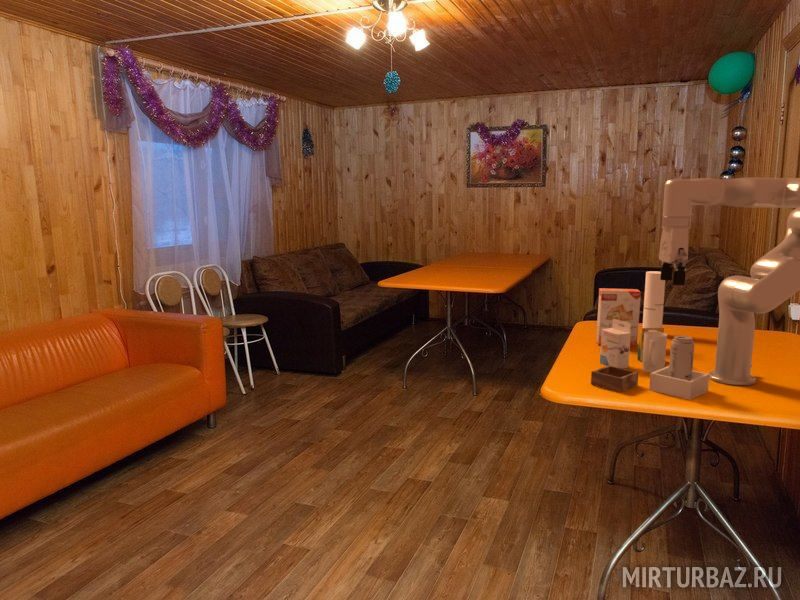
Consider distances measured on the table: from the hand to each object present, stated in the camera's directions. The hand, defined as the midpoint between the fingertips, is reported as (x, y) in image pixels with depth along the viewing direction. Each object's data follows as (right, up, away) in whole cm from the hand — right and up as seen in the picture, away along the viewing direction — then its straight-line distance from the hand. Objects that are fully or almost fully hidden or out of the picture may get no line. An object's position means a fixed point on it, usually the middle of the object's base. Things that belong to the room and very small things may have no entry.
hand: (672, 282), depth 177 cm
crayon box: (+5, -26, +29) cm, 39 cm away
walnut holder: (-16, -30, +4) cm, 34 cm away
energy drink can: (+1, -31, -2) cm, 31 cm away
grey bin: (+1, -31, -2) cm, 31 cm away
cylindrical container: (+21, -19, +67) cm, 73 cm away
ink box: (-8, -27, +24) cm, 37 cm away
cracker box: (+2, -22, +51) cm, 56 cm away
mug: (+1, -28, +16) cm, 33 cm away
